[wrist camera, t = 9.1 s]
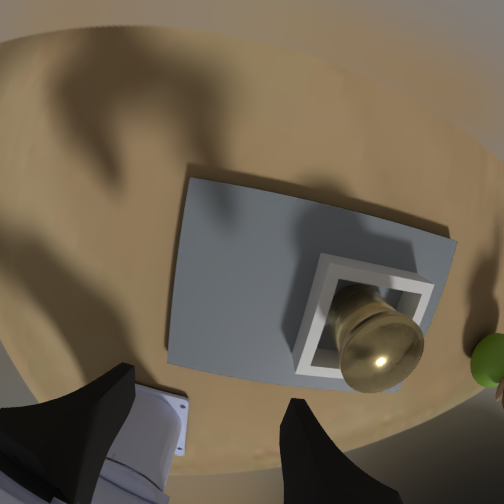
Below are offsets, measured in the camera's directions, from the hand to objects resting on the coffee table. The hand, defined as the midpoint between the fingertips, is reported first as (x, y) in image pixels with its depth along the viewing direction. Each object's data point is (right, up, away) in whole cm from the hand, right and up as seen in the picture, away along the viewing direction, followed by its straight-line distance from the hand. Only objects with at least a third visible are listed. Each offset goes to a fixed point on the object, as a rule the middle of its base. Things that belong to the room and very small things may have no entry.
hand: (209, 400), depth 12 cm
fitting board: (+6, +3, +9) cm, 11 cm away
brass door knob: (+9, +2, +8) cm, 12 cm away
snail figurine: (+26, -3, +10) cm, 28 cm away
